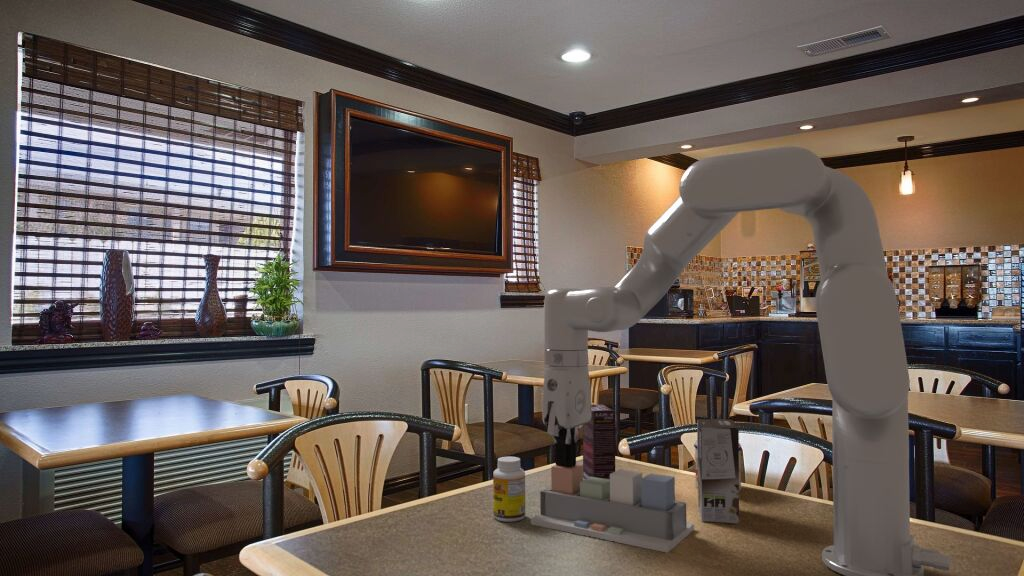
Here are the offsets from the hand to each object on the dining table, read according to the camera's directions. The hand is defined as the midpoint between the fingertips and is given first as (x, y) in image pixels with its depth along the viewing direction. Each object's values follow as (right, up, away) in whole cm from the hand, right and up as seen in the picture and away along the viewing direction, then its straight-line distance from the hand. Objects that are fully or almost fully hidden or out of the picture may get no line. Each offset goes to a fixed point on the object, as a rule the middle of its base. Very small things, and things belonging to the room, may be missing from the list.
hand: (565, 465), depth 118 cm
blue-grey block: (+14, -5, -9) cm, 17 cm away
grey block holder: (+7, -9, -5) cm, 12 cm away
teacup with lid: (+32, -10, +16) cm, 37 cm away
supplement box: (+8, -10, +21) cm, 24 cm away
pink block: (0, -5, 0) cm, 5 cm away
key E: (+5, -7, -3) cm, 9 cm away
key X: (+9, -5, -6) cm, 12 cm away
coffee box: (+27, -9, +1) cm, 28 cm away
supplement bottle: (-10, -9, 0) cm, 14 cm away
